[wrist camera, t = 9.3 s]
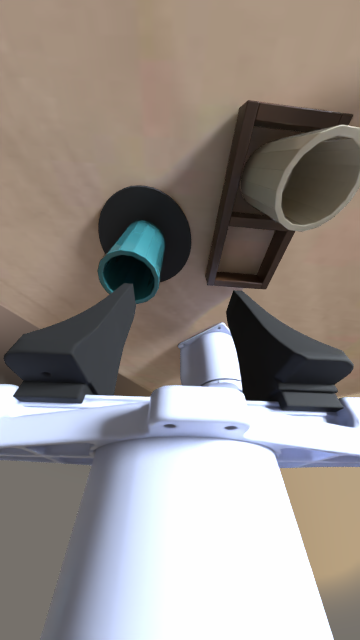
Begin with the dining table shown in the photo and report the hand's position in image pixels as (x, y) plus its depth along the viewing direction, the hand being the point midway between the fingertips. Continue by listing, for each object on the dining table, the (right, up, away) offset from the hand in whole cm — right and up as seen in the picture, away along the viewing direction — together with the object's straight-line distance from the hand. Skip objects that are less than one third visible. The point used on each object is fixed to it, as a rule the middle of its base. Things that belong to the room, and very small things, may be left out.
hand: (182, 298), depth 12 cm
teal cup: (-4, +7, +6) cm, 10 cm away
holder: (+7, +9, +5) cm, 12 cm away
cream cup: (+7, +11, +3) cm, 14 cm away
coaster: (-4, +7, +7) cm, 11 cm away
